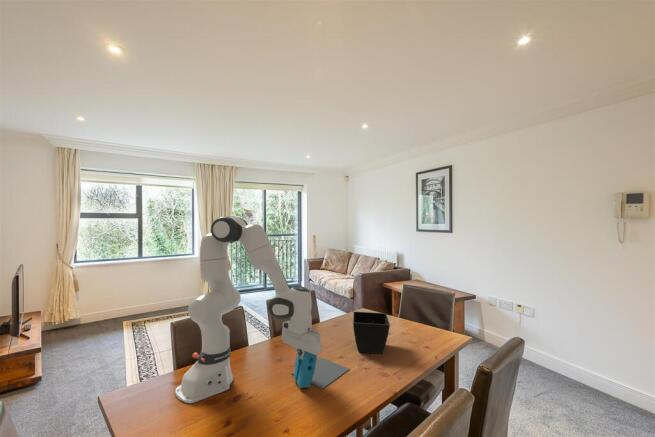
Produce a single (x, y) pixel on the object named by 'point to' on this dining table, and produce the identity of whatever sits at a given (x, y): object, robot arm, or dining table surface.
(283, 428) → the dining table surface
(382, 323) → the flower pot
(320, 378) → the charcoal mat
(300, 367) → the block
